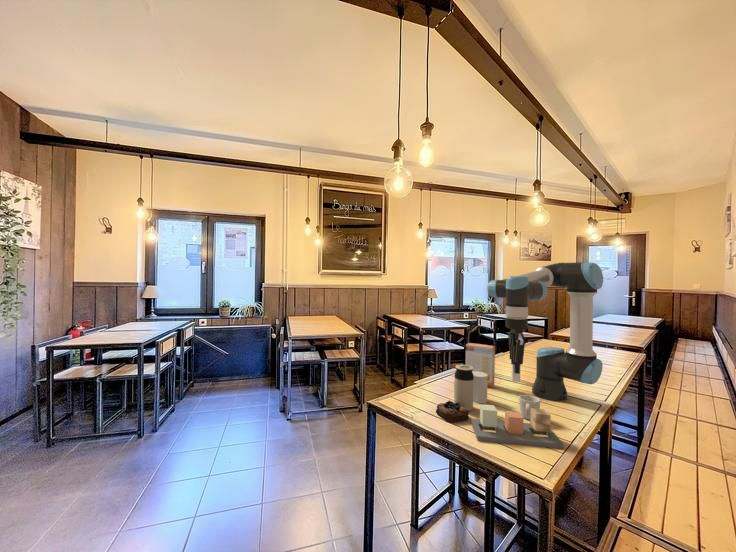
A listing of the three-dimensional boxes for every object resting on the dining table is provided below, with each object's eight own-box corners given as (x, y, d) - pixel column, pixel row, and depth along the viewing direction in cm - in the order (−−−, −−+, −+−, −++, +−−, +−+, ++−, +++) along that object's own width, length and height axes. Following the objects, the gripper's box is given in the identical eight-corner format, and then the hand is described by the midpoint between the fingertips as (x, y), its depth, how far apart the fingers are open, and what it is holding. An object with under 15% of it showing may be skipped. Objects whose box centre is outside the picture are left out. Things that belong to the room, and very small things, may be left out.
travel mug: (476, 407, 142) (476, 366, 142) (467, 413, 136) (468, 370, 136) (459, 402, 147) (460, 363, 147) (450, 407, 141) (451, 366, 141)
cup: (538, 426, 125) (539, 406, 125) (516, 421, 129) (516, 401, 129) (540, 416, 134) (541, 397, 134) (519, 411, 139) (520, 393, 139)
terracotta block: (518, 428, 121) (519, 412, 121) (523, 434, 116) (523, 418, 116) (504, 427, 121) (505, 411, 121) (508, 433, 117) (508, 416, 116)
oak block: (544, 425, 119) (545, 409, 119) (550, 432, 114) (550, 415, 114) (530, 424, 120) (530, 408, 120) (535, 430, 115) (535, 413, 115)
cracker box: (494, 385, 172) (495, 345, 172) (491, 388, 167) (492, 347, 167) (468, 379, 180) (469, 342, 180) (464, 382, 175) (465, 343, 175)
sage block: (493, 421, 122) (494, 405, 122) (496, 427, 117) (497, 410, 117) (479, 420, 123) (480, 404, 123) (482, 426, 118) (482, 409, 118)
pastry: (449, 425, 126) (449, 410, 126) (432, 412, 137) (432, 398, 137) (472, 420, 130) (472, 406, 130) (454, 408, 141) (454, 395, 141)
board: (547, 428, 123) (547, 424, 123) (563, 448, 110) (563, 443, 110) (470, 422, 128) (471, 418, 128) (477, 440, 114) (477, 436, 114)
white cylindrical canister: (488, 403, 147) (488, 377, 146) (469, 402, 148) (470, 376, 148) (485, 397, 154) (486, 372, 154) (467, 395, 156) (468, 370, 156)
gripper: (501, 315, 127) (500, 374, 127) (511, 320, 114) (510, 386, 114) (521, 315, 126) (520, 375, 126) (533, 320, 113) (532, 387, 113)
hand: (515, 381), depth 120 cm, fingers closed
